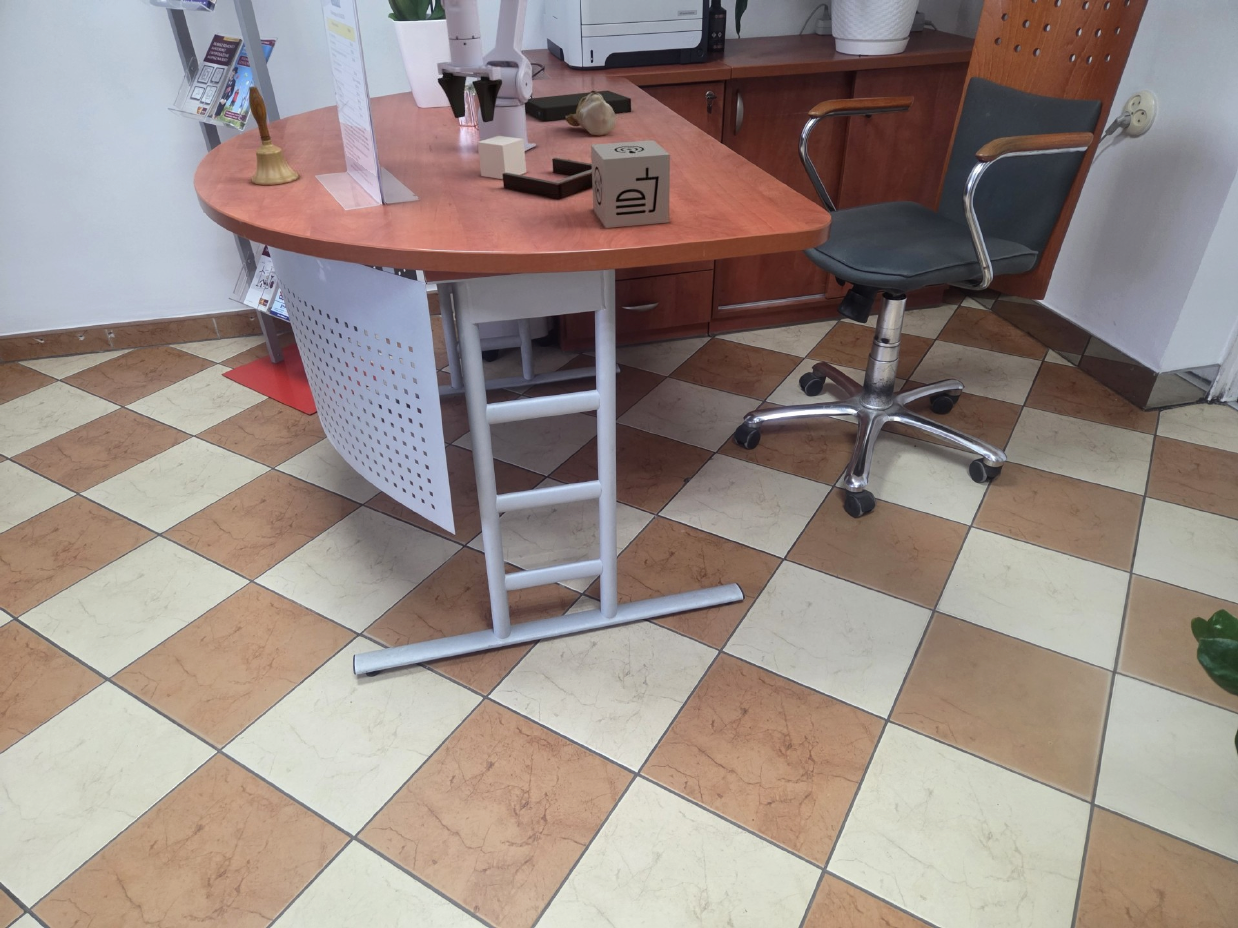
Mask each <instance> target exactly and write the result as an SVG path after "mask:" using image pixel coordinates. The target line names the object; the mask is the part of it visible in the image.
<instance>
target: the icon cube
mask: <svg viewBox="0 0 1238 928" xmlns="http://www.w3.org/2000/svg"><path fill="white" fill-rule="evenodd" d="M590 158H591V160H590V161H591V164H592V185H593V187H592V207H593V211H594V213H595V214H596V216H597V217H598V219H599V221H600V222H601V223H602V225H603V226H604V228H605V229H610V228H611V229H612V228H621V227H632V226H644V225H654V224H655V225H656V224H666V223H670V192H671V191H670V188H671V187H670V183H671V182H670V181H671V180H670V179H671V177H670V176H671V154H670V153H669V152H668V151H666V149H665V148H663V147H662V145H659V144H658V143H657V142H656V141H655V140H654V139H650V140H638V141H637V140H635V141H623V142H609V143H597V144H590Z"/></svg>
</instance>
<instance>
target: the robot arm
mask: <svg viewBox="0 0 1238 928" xmlns="http://www.w3.org/2000/svg"><path fill="white" fill-rule="evenodd" d="M527 4H528V0H500V3H499V12H498V13H499V14H498V20H497V28H496V37H495V45H494V47H493V48H492V49H491V50H490V51H488V53H486V54H485V55H484V56H483V46H482V36H481V26H480V17H479V16H480V15H479V7H478V0H440V5H441V7H442V9H443V10H444V13H445V22H446V29H447V38H448V47H449V53H450V61H451V62H449V61H443V62H437V63H436V66H437V74H438V75H440V76H442V77H437V83H438V85H439V86H440V87H441V89H442V91H443V92H444V94H445V96H446V98H447V100H448V103H449V106H450V108H451V111H452V114H453V115H454V118H455V119H460V118H465V117H466V101H465V100H466V99H465V94H466V93H465V90H466V82H467V78H474V79H475V78H476V80H473V81H471V82H472V86H473V88H474V90H475V93H476V96H477V99H478V100H477V101H478V103H479V104H478V105H479V107H478V109H477V127H478V138H479V141H483V140H486V139H489V138H493V137H496V136H504V137H512V138H520V139H524V151H525V152H526V151H528V150H530V149H532V148H534V147H536V146H537V144H536V143H535V142H529V141H528V140H529V139H528V129H527V116H526V114H527V113H525V103H526V102H527V101H528V99H530V98H531V96H532V92H533V67H532V64H531V62H530V61H529V59H528V58H527V57H526V56H525V55H524V54H523V53H522V45H523V36H524V30H525V20H526V13H527Z"/></svg>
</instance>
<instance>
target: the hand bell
mask: <svg viewBox="0 0 1238 928" xmlns="http://www.w3.org/2000/svg"><path fill="white" fill-rule="evenodd" d="M265 103H266V102H265V100H264V98H263V96H262V95H261V93H260V91H259V89H258V87H257V86H254V85H253V86H249V87H248V104H249V107H250V108H249V109H250V112H251V115H252V117H253V119H254V121H255V122H256V125H257V128H258V131H259V136H260V141H261V146H260V147H259V148H257V149H256V150H255V154H256V155H255V156H256V170H255V173H254V175H253V176H252V177H251V182H252V183H253V184H255V185H258V186H259V185H260V186H273V185H274V186H275V185H282V184H287V183H292V182H294V181H297V180H298V179H299V174H298V173H297V172H296V171H295V170H293V169H292V168H291V167H290V166H289V164H288V163H287V160H286V159H285V158H286V157H285V156H284V153H283V150H282V148H281V147H279V146H276V145H274V144H273V142H272V137H271V135H270V131H269V128H268V122H267V121H268V120H267V119H268V117H267V116H268V113H267V107H266V104H265Z"/></svg>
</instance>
